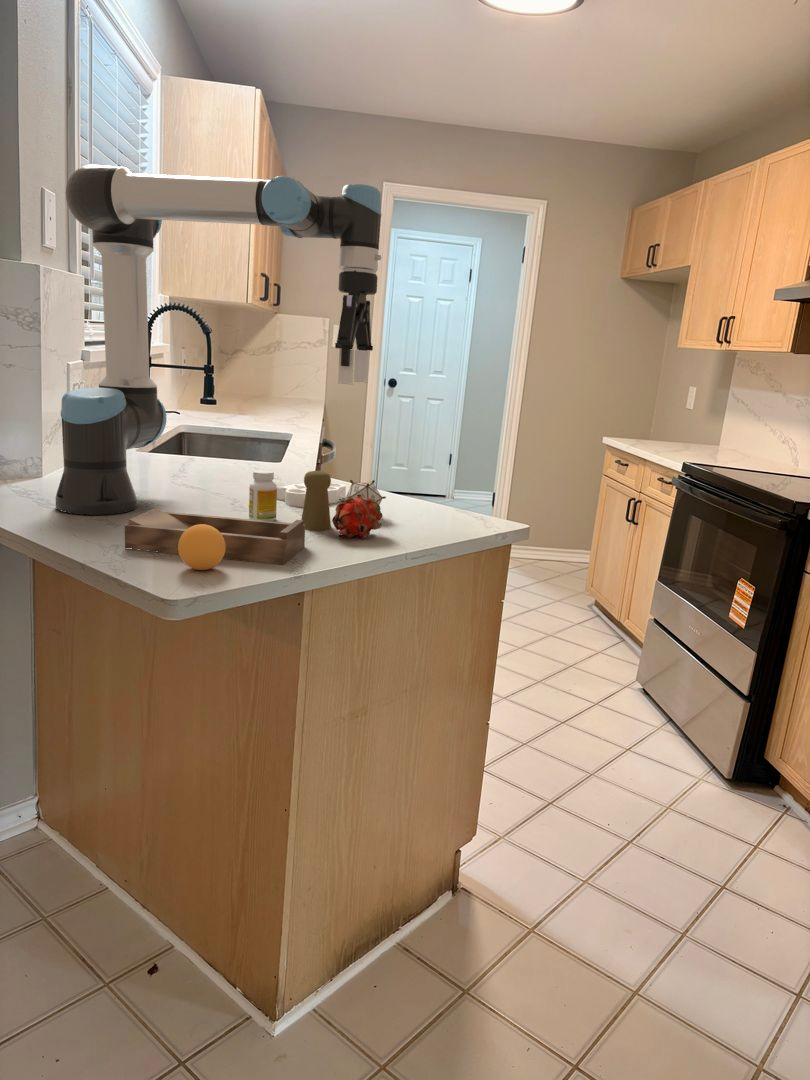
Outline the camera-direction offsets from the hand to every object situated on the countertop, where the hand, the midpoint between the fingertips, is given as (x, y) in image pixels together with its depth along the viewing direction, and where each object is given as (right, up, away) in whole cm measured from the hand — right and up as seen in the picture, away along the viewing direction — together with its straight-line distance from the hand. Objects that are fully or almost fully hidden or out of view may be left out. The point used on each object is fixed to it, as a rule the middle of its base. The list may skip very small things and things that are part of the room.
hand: (353, 383), depth 155 cm
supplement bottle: (-18, -28, 0) cm, 33 cm away
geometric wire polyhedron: (+1, -27, +7) cm, 28 cm away
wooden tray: (-21, -33, -24) cm, 46 cm away
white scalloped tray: (-11, -23, +23) cm, 34 cm away
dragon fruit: (+1, -31, -10) cm, 33 cm away
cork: (-7, -29, -4) cm, 30 cm away
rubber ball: (-21, -33, -37) cm, 54 cm away
